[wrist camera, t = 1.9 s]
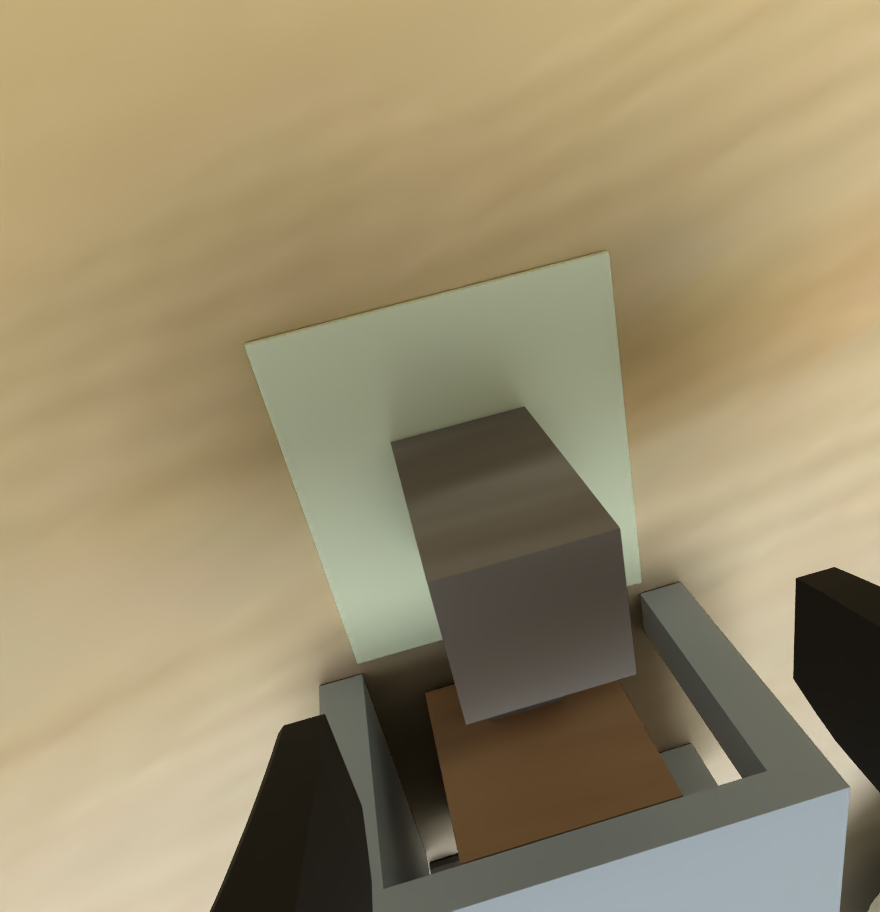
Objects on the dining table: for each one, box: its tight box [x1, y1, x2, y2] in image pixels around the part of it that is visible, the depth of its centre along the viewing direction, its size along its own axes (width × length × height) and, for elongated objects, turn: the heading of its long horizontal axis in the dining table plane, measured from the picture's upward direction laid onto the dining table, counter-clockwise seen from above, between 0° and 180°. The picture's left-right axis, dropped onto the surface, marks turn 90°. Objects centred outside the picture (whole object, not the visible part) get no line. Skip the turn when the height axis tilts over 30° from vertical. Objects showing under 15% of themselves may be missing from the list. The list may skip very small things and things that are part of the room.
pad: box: [244, 251, 642, 664], centre depth 17 cm, size 9×8×1 cm
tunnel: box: [319, 582, 850, 912], centre depth 18 cm, size 8×10×7 cm
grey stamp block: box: [390, 406, 683, 865], centre depth 16 cm, size 14×5×6 cm, turn 12°
